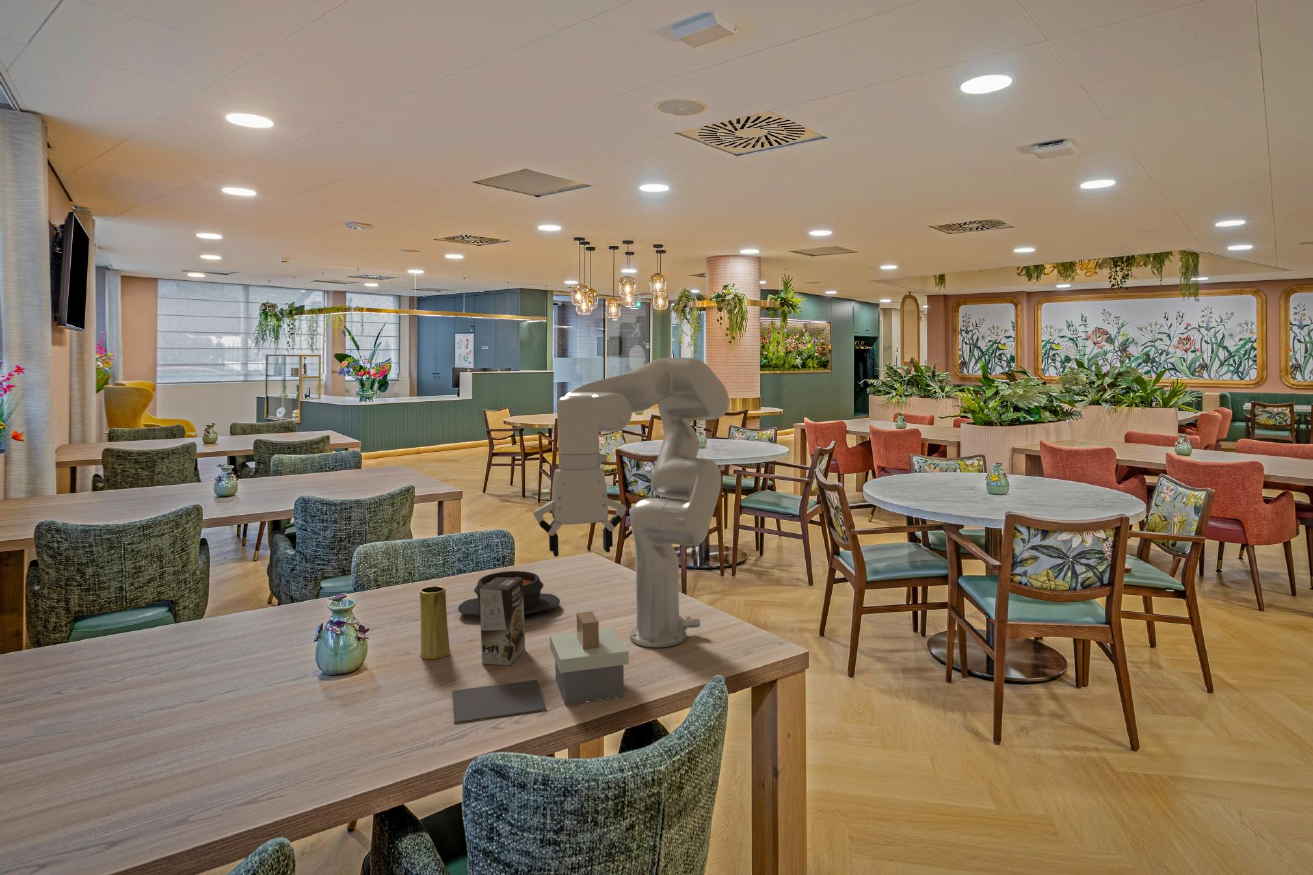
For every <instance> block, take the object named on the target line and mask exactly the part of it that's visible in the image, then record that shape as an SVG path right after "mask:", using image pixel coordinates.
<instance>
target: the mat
mask: <svg viewBox="0 0 1313 875" xmlns="http://www.w3.org/2000/svg"><path fill="white" fill-rule="evenodd" d="M452 707H453V708H452V709H453V722H454V723H455V724H460V723H459V722H462V723H465V722H464V721H469V722H474V721H473V720H476V721H481V720H480V719H483V720H489V719H495V718H503V716H504V717H509V716H516V715H517V714H518V715H523V714H524V715H525V714H531V713H530V712H532V713H537V712H536V711H539V712H543V711H542V710H546V711H547V706H546V702H545V700H544V696H543V693H542V690H541V688H540V685H539V681H538V679H532V680H523V681H515V682H509V683H502V684H493V685H492V684H491V685H485V686H478V687H470V688H463V689H455V690H452ZM518 715H517V716H518Z"/></svg>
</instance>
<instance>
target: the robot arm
mask: <svg viewBox="0 0 1313 875" xmlns="http://www.w3.org/2000/svg"><path fill="white" fill-rule="evenodd" d="M729 403H730V400H729V394H728V390H727V388H726V387H725V385H724V383H723V382H722V380H720V379H719V377H718V376H717V375H716V374H715V372H714V371H713V370H712V369H711V367H709V365H707V364H706V363H705V362H704V361H703V360H701V359H699V358H696V357H662V358H657V359H654V360H652V361H650V362H648V363H645V364H644V365H642V366H640V367H638V368H636V369H634V370H632V371H630V372H627V373H623V374H618V375H614V376H610V377H607V378H604V379H599V380H595V381H592V382H589V383H586V384H583V385H580V386H578V387H577V388H574V389H572V390H570V391H569V392H567V393H566V394H565V395H563V396H561V397H560V398H559V399H558V400H557V404H556V408H557V409H556V410H557V411H556V415H557V418H556V419H557V448H558V449H557V450H558V451H557V452H558V456H557V458H558V468H557V469H555V470H554V472H553V478H552V487H551V488H552V490H551V500H550V501H549V502H547V503H545V504H543V505H542V506H541V507H538V508H537V509H535V510H534V511H533V512H532V514H533V516H534V518H535V519H536V521H537V523H538V525H539V526H540V528H542V529H543V530H544V531H545V532H546V533H547V534H548V538H549V539H548V541H549V542H548V548H549V552H552V554H553V556H554V558H555V557H557V558H558V557H559V556H560V555H559V554H560V553H559V536H558V533H557V532H558V531H559V529H561V527H562V525H563V526H564V525H568V526H569V525H579V524H580V525H581V524H582V525H583V524H594V523H596V524H597V523H602V524H603V525H604V526H603V527H604V528H603V529H602V545H603V546H602V549H603V550H604V552H605V553H607V554H608V553H610V552H611V548H612V547H613V546H614V545H613V542H614V541H613V535H614V534H613V531H614V530H615V528H616V527H617V526H618V525H619V524H620V523H621V522H622V518H623V517H624V515H625V513H626V511H627V506H626V505H624V504H622V503H620V502H618V501H615V500H613V499H612V498H609V497H608V491H607V483H606V477H605V472H604V469H603V467H601V465H602V464H603V463H607V462H608V455H607V454H602V453H600V437H599V436H600V432H602V433H603V432H605V433H607V432H608V433H614V432H618V431H621V430H623V429H624V428H626V427H627V426H628V425H629V423H630V421H631V419H632V416H633V415H632V414H633V413H639V412H644V411H646V410H649V409H651V408H652V407H653V406H655V405H657V408H658V412H659V415H660V419H661V424H662V428H663V441H662V443H661V446H660V449H659V453H658V456H657V459H656V462H655V466H654V468H653V471H652V475H651V480H650V487H651V490H652V492H653V493H655V494H656V495H657V496H660V497H662V498H659V497H649V498H648V497H646V498H643V499H641V500H639V501H636V503H635V504H634V506H633V507H632V509H631V510H630V511H631V513H630V518H629V520H630V526H631V532H632V535H633V536H632V538H633V543H634V551H635V594H636V595H635V597H636V598H635V599H636V602H635V603H636V627H634V628H633V629H631V631H630V632H629V638H630V640H631V641H632V642H633V643H634V644H636V645H639V646H642V647H648V648H668V647H674V646H677V645H680V644H681V643H683V642H684V641H685V640H686V638H687V631H686V630H688V628H690V629H691V628H700V627H701V620H700V618H692V617H691V616H684V617H682V616H680V588H679V586H680V580H679V579H680V576H679V575H680V573H679V572H680V571H679V570H680V567H679V566H680V564H679V563H680V562H679V558H678V555H677V552H676V550H675V547H674V546H673V545H680V546H690V547H692V546H694V547H695V546H699V545H700V544H702V543H703V542H704V541H705V540H706V538H707V535H708V532H709V531H710V530H709V529H710V526H711V522H712V520H713V515H714V512H715V510H716V506H717V502H718V499H719V495H720V491H721V485H722V472H721V469H720V467H719V465H718V464H717V463H716V462H715V461H714V460H711V459H708V458H702V457H697V456H698V453H699V450H700V445H701V444H700V439H699V437H698V435H697V433H696V431H695V430H694V428H693V427H692V425H691V423H690V422H689V420H718V419H721V418H723V417H724V416H725V414H726V413H727V412H728V408H729V405H730V404H729ZM609 507H610V508H613V509H615V510H616V512H615V514H614V515H613V516H612V518H611V519H610V520H609V519H608V518H609ZM550 511H551V515H552V519H553V520H552V521H551V523H548V522H547V521H546V520H545V519H544V515H545V514H547V513H549V512H550Z"/></svg>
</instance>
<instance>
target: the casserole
mask: <svg viewBox="0 0 1313 875" xmlns="http://www.w3.org/2000/svg"><path fill="white" fill-rule="evenodd" d="M496 577H504V578H505V577H517V578H523V598H524V617H525V616H527V615H528V616H529V615H530V614H534V613H537V612H544V611H548V610H552V609H555V608H556V607H558V606H559V605H560V603H561V599H560V598H559V597H558V596H556V595H554V594H552V593H545V592H544V593H541V592H542V591H541V590H542V589H543V588H544V583H543V582H542V581H541V579H540V577H539V575H538V574H536V573H534V572H531V571H521V570H508V571H499V572H494V573H490V574H487V575H484V576H482V577H480V578H479V579H478V581H477V584H476V586H474V589H473V591H474V593H475V594H476V595H477V597H476V598H469V599H467V600H464V601H463V602H461V603H460V604H459V605H458V607H457V611H458V612H459V613H461V614H462V615H465V616H474V617H475V616H478V617H481V615H480V588H481V587H483V586H484V585H486V584H487V583H489V582H490V581H492V580H493V579H494V578H496Z"/></svg>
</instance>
